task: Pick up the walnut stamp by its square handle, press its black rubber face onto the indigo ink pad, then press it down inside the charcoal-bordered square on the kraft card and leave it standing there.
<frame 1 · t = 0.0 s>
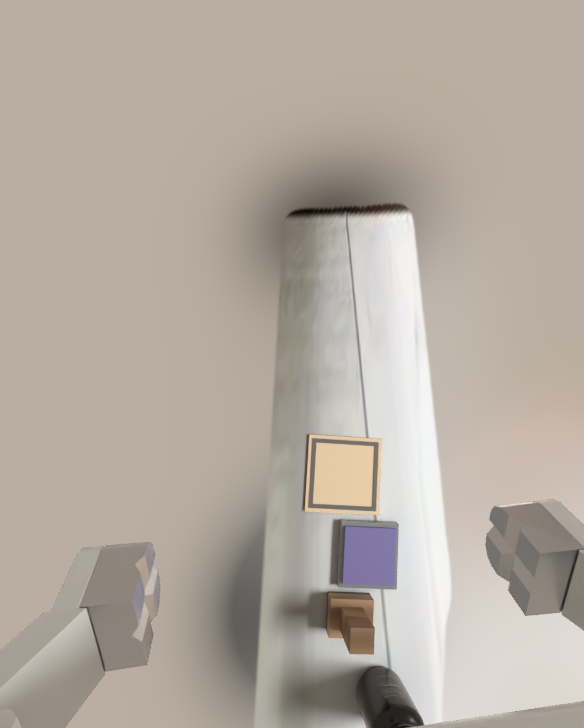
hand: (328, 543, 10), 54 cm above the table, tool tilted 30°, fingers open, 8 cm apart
marked card: (343, 474, 64), on the table
stamp: (347, 610, 62), on the table
ink pad: (367, 553, 63), on the table
supplement bottle: (378, 690, 61), on the table
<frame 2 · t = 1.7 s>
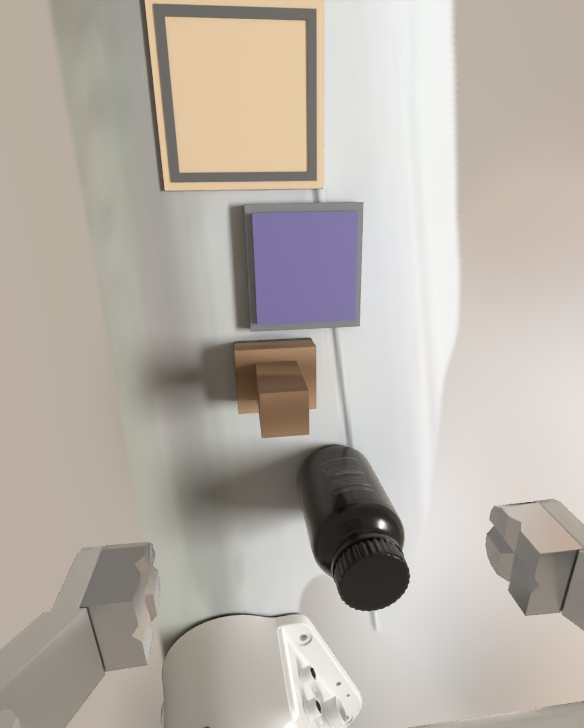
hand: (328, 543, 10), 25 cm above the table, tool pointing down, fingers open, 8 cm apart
marked card: (241, 100, 29), on the table
stamp: (273, 369, 35), on the table
ink pad: (303, 267, 33), on the table
supplement bottle: (333, 475, 39), on the table
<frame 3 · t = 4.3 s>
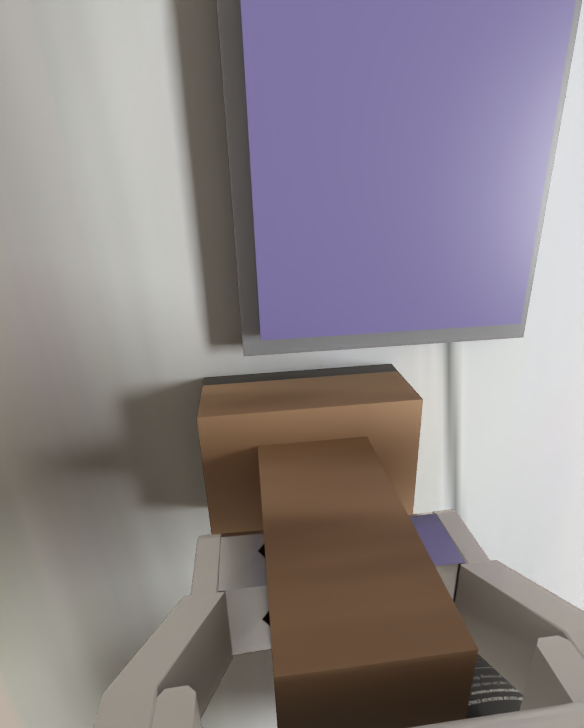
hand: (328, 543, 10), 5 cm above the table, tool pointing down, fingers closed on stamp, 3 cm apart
stamp: (301, 438, 15), on the table, touching gripper
ink pad: (384, 180, 12), on the table
supplement bottle: (418, 631, 19), on the table
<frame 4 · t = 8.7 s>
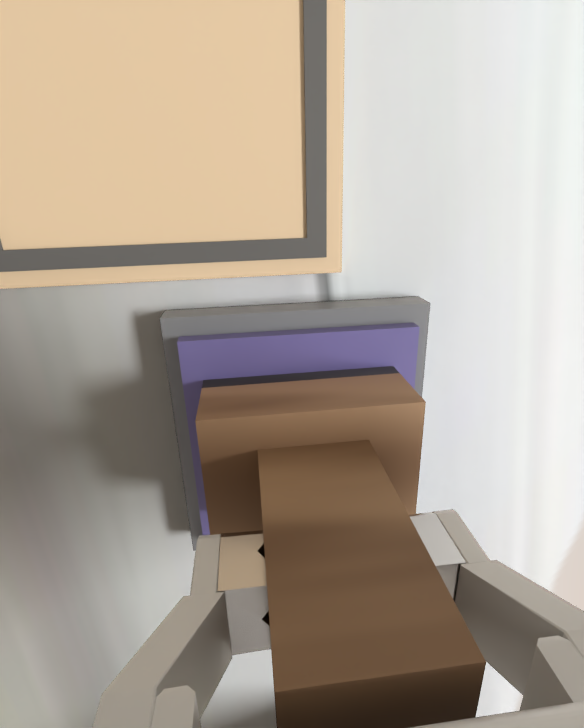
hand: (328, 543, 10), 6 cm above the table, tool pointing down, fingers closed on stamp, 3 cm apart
marked card: (138, 71, 12), on the table
stamp: (302, 441, 14), point 1 cm above the table, touching gripper, ink pad
ink pad: (298, 423, 16), on the table
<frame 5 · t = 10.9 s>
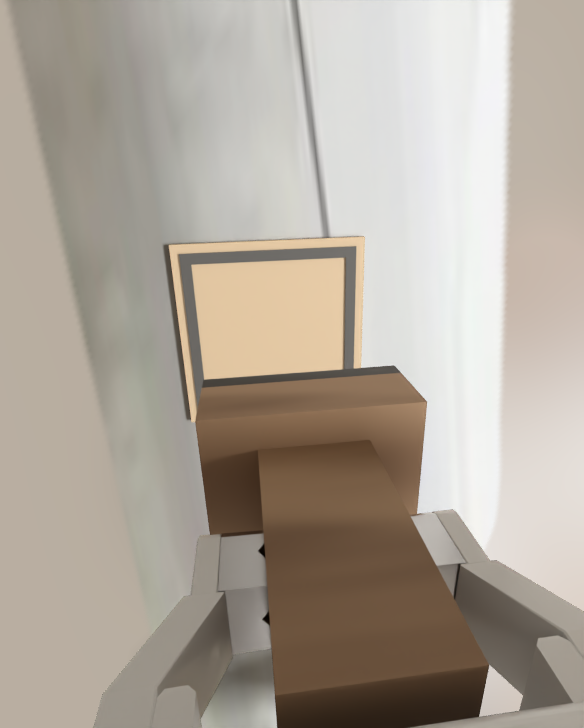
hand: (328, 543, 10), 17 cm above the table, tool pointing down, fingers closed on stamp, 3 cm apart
marked card: (272, 333, 27), on the table
stamp: (302, 441, 14), point 13 cm above the table, touching gripper
when the fingers open (5 cm above the table, at t = 12.7 s): stamp stays where it is, resting on marked card.
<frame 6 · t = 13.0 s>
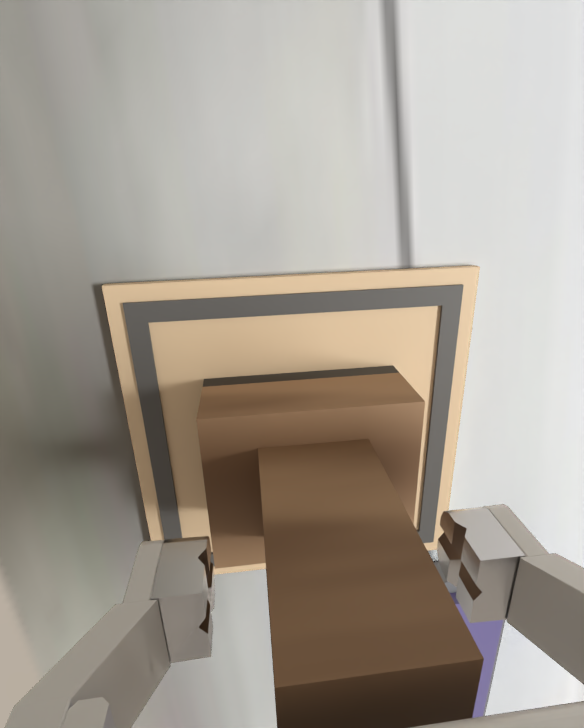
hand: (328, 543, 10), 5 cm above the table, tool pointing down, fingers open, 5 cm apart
marked card: (301, 435, 15), on the table
stamp: (302, 440, 15), resting on marked card
ink pad: (396, 642, 19), on the table
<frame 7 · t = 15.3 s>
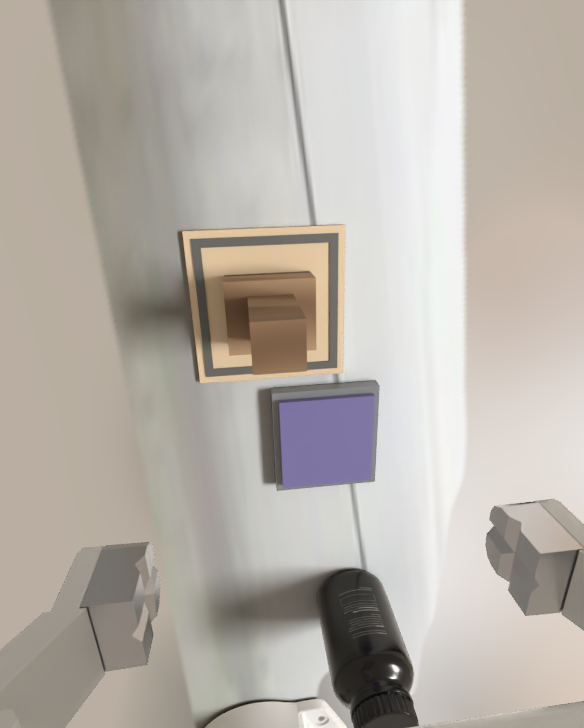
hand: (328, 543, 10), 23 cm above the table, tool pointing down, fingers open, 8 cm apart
marked card: (269, 306, 31), on the table
stamp: (269, 308, 31), resting on marked card
ink pad: (324, 433, 36), on the table
supplement bottle: (349, 591, 43), on the table
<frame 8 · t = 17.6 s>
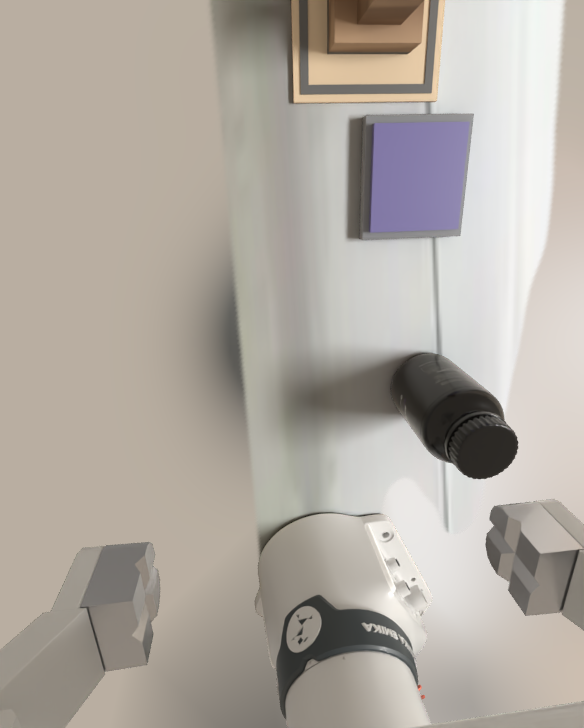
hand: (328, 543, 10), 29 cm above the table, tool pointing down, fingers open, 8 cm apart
marked card: (368, 13, 31), on the table
stamp: (369, 12, 31), resting on marked card
ink pad: (411, 179, 35), on the table
supplement bottle: (421, 383, 43), on the table
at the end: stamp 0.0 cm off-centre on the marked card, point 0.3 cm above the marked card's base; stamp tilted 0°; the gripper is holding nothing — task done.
